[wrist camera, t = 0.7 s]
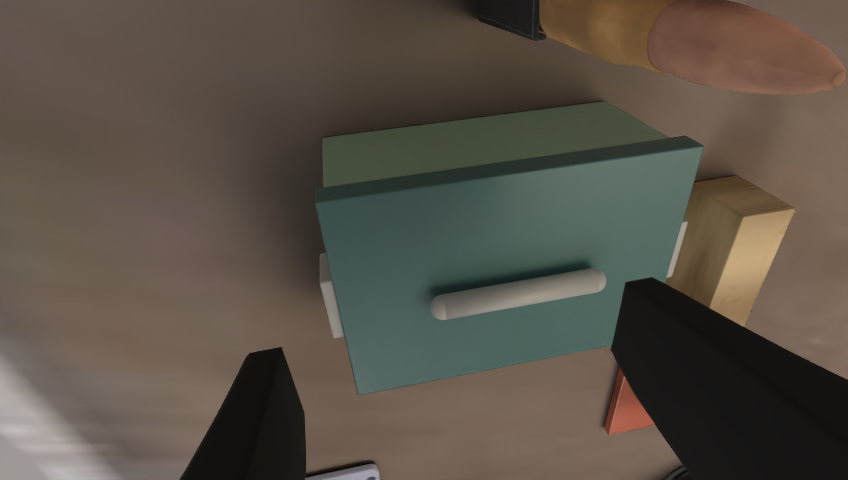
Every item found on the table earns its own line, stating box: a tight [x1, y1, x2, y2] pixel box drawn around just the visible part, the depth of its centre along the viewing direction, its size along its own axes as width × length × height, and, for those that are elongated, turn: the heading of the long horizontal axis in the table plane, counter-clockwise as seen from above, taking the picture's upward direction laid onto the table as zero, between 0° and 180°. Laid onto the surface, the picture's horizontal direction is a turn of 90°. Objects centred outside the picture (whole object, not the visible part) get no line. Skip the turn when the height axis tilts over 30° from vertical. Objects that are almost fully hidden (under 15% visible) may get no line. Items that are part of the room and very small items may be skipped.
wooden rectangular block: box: [604, 176, 795, 435], centre depth 25 cm, size 18×5×3 cm, turn 4°
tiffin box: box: [315, 101, 704, 395], centre depth 17 cm, size 8×12×6 cm, turn 94°
